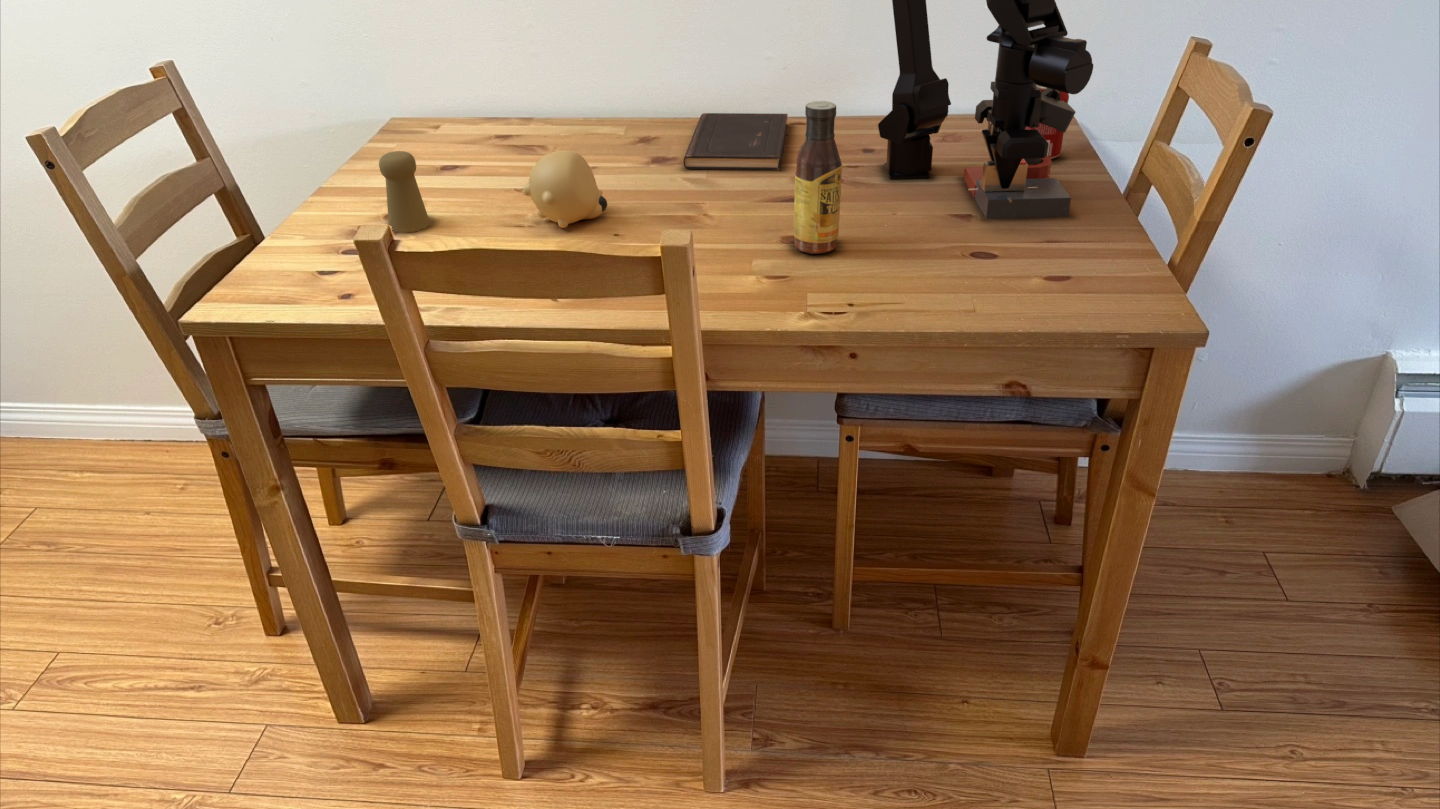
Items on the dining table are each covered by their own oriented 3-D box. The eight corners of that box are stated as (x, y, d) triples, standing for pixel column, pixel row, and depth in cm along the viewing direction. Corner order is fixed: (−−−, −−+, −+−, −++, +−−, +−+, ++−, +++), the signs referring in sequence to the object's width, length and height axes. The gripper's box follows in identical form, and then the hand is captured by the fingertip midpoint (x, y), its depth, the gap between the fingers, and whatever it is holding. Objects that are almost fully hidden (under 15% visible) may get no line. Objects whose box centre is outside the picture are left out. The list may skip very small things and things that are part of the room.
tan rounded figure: (591, 250, 158) (630, 191, 158) (540, 209, 148) (582, 147, 149) (553, 230, 164) (591, 173, 164) (502, 189, 154) (542, 129, 155)
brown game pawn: (393, 236, 155) (378, 163, 149) (384, 222, 160) (369, 151, 154) (434, 227, 158) (421, 155, 152) (424, 214, 162) (411, 144, 156)
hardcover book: (787, 126, 193) (787, 113, 192) (779, 170, 174) (780, 156, 173) (700, 125, 195) (700, 113, 194) (683, 169, 176) (683, 155, 174)
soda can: (1050, 165, 172) (1061, 92, 166) (1011, 158, 176) (1020, 85, 169) (1066, 154, 177) (1077, 81, 170) (1028, 146, 180) (1037, 75, 174)
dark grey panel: (973, 222, 154) (975, 202, 152) (959, 196, 162) (961, 176, 161) (1070, 219, 154) (1073, 199, 152) (1051, 194, 162) (1054, 174, 160)
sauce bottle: (825, 259, 144) (829, 115, 134) (785, 250, 147) (786, 108, 137) (846, 242, 149) (852, 102, 138) (807, 234, 152) (810, 95, 141)
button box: (973, 197, 162) (976, 172, 160) (962, 178, 169) (965, 153, 167) (1055, 195, 162) (1059, 170, 160) (1040, 175, 169) (1044, 151, 167)
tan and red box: (983, 191, 156) (986, 164, 153) (980, 187, 157) (983, 159, 155) (1024, 190, 155) (1028, 162, 153) (1021, 185, 157) (1024, 158, 155)
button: (1017, 166, 162) (1019, 155, 161) (1011, 157, 166) (1012, 146, 165) (1043, 165, 162) (1045, 154, 161) (1037, 157, 166) (1038, 146, 165)
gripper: (1094, 96, 140) (1076, 207, 148) (1055, 59, 155) (1041, 162, 164) (1009, 98, 140) (996, 210, 148) (979, 61, 156) (969, 164, 164)
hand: (1003, 185), depth 156 cm, fingers closed on tan and red box, 2 cm apart
